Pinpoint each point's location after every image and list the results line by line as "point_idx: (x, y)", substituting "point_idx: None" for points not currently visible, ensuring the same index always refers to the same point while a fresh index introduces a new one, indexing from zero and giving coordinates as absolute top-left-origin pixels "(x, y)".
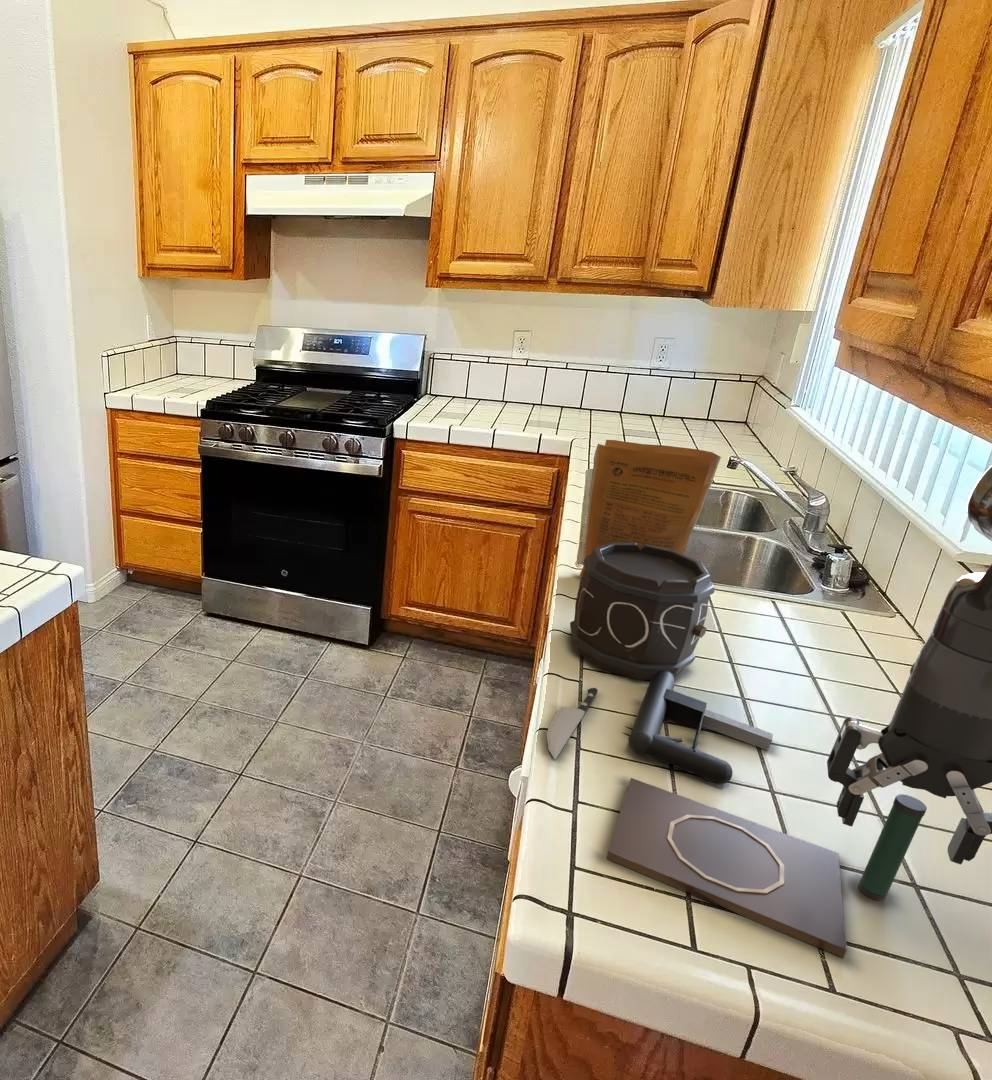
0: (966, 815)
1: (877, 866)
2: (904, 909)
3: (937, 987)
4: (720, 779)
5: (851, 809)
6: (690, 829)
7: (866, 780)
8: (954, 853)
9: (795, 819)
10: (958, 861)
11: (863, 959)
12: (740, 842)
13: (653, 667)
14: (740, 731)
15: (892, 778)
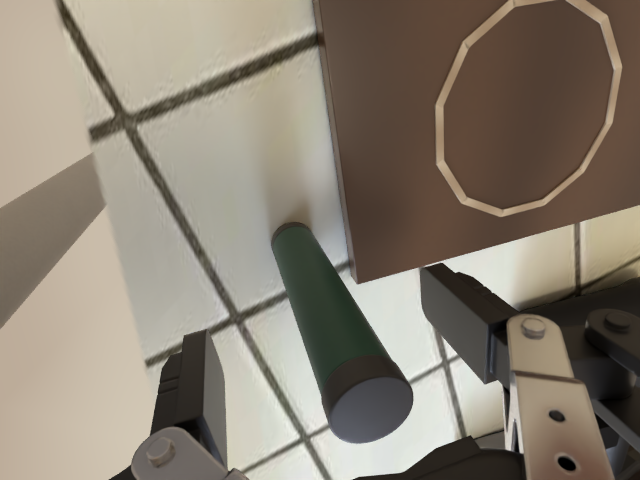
0: (223, 471)
1: (317, 253)
2: (239, 240)
3: (146, 42)
4: (531, 313)
5: (468, 287)
6: (579, 133)
7: (557, 368)
8: (207, 348)
9: (411, 326)
10: (192, 335)
11: (276, 12)
12: (503, 169)
13: (622, 476)
14: (503, 447)
15: (548, 423)
